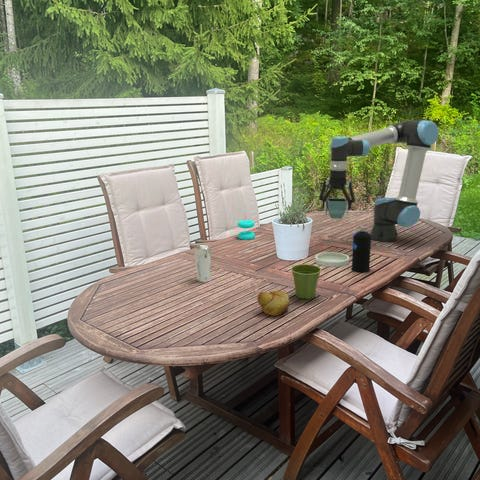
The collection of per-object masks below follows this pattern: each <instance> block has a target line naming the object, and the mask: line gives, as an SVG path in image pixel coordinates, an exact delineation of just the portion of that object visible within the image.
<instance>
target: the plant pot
mask: <svg viewBox="0 0 480 480" xmlns="http://www.w3.org/2000/svg"><path fill="white" fill-rule="evenodd" d="M290 271H291V272H292V277H293V282H294V283H293V284H294V291H295V295H296V297H297V298H299V299H301V300H304V299H306V300H310V299H313V298H314V297H315V296H316V292H317V286H318V282H319V277H320V275H321V272H322V271H323V270H322V268H321V267H320V266H318V265H315V264H307V263H306V264H305V263H302V264H295V265H293V266H291V267H290Z"/></svg>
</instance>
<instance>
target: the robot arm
mask: <svg viewBox="0 0 480 480" xmlns="http://www.w3.org/2000/svg"><path fill="white" fill-rule="evenodd" d="M438 139H439V128H438V126H437V124H436V123H435V122H433V120H424V119H422V120H405V121H402V122H401V121H400V122H398V123H394V124H390V125H388V126H387V127H386V128H382V129H379V130H374V131H370V132H366V133H362V134H358V135H353V136H350V137H348V136H333V137H332V138H331V142H330V146H329V147H330V169H331V170H330V171H329V172H330V173H329V180H327V179H325V180H323V182H322V183H323V184H322V189H321V191H320V194H319V197H318V200H319V201H320V202H322V209H324V210H323V215H324V216H326V215H328V205H327V198H329V196H330V195H331V193H332V191H333V190H339V191H340V190H341V192H342V194H343V195H344V197H345V198H344V199H346V201H347V204H346V210H345V217H346V218H347V217H348V218H349V213H350V212H349V211H351V209H352V203H355V202H356V197H355V193H354V192H355V191H354V187H353V182H354V181H352V180H351V181H349V180H347V169H348V157H365V156H367V155H369V153H370V149H371V148H373V147H377V146H381V145H385V144H394V145H395V144H399V143H400V144H406V145H405V146H406V149H407V154H406V159H405V164H404V169H403V172H402V173H403V174H402V178H401V181H400V187H399V190H398V191H399V192H398V196H396V197H380V198H376V199H375V202H374V205H373V207H374V208H373V209H374V210H373V224H372V227H371V231H369V234H370V235H371V236H372V238H371V241H376V242H381V243H382V242H383V243H390V242H396V241H397V240H398V238H399V235H398V231H397V227H396V225H397V226H400V227H405V228H410V227H413V226H414V225H415V224H417V222H418V221H419V219H420V217H421V210H420V208H419V207H418V204H419V202H418V200H417V194H418V189H419V185H420V180H421V177H422V172H423V167H424V163H425V158H426V154H427V152H428V151H430V150H431V147H432V146H433V144H435V143H436V142H437V140H438ZM328 185H330V187H329V189H328V190H327V192H326V189H327V186H328ZM345 186H348V190H349V194H348V192H347V188H346V187H345ZM325 192H326V194H325ZM324 195H325V196H324Z"/></svg>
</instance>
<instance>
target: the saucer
mask: <svg viewBox="0 0 480 480" xmlns="http://www.w3.org/2000/svg"><path fill="white" fill-rule="evenodd" d="M350 260H351V259H350V256H349V255H347V254H346V253H342V252H337V251H322V252H319V253H316V254H315V255H314V262H315V263H316V264H317V265H319V266H323V267H330V268H331V267H332V268H337V267H344V266H347V265H349V264H350Z"/></svg>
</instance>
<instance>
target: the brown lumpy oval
mask: <svg viewBox="0 0 480 480" xmlns="http://www.w3.org/2000/svg"><path fill="white" fill-rule="evenodd" d="M256 298H257V303H258V305H259V306H260V308H261V311H262V312H263V313H264V314H265V315H267V316H268V315H269V316H274V317H275V316H278V315H281V314H282V313H284V312H286V311H287V310H288V309H289V306H290V302H291V301H290V297H289V296H288V294H287V293H286V292H285V291H282V290H273V291H270V292H265V291H261V292H260V293H258V295H257V297H256Z"/></svg>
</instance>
